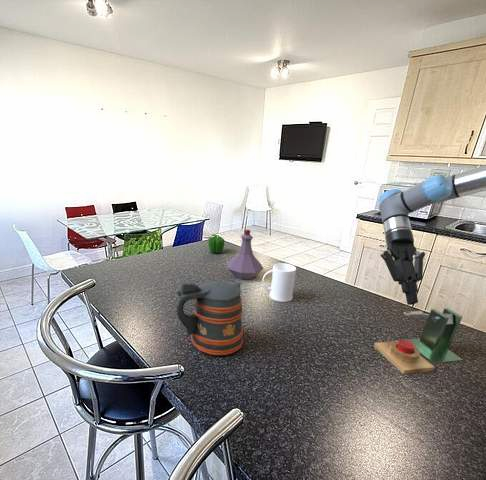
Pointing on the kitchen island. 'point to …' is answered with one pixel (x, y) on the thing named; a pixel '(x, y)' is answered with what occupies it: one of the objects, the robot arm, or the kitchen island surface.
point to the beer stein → (213, 316)
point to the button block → (404, 358)
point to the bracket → (438, 337)
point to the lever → (425, 315)
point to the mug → (281, 282)
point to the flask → (245, 260)
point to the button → (405, 346)
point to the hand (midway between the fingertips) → (412, 303)
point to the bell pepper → (216, 244)
